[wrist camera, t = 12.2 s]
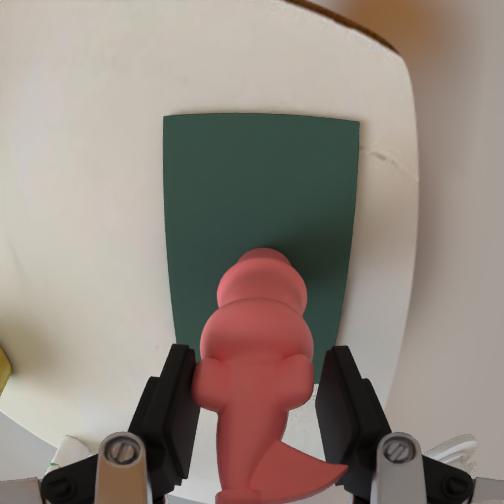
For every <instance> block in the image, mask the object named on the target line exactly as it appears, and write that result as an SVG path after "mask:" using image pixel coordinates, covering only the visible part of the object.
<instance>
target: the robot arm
mask: <svg viewBox="0 0 504 504" xmlns="http://www.w3.org/2000/svg"><path fill="white" fill-rule="evenodd" d="M195 366H196V358H195V350H194V349H190V348H189V345H186V344H172V346H171V349H170V352H169V354H168V357H167V359H166V362H165V365H164V367H163V370H162V372H161V375H160V377H152V376H151V377H150V378H149V380H148V381H147V384H146V386H145V389H144V391H143V394H142V396H141V399H140V401H139V404H138V406H137V409H136V411H135V414H134V416H133V419H132V421H131V424H130V426H129V429H128V432H116V433H113V434H110V435H109V436H107V437H106V438H105V439H104V440H103V441H102V442H101V445H100V448H99V453H98V454H96V455H93V456H91V457H88V458H86V459H83V460H81V461H78V462H75V463H72V464H70V465H67V466H64V467H61V468H58V469H55V470H52V471H51V472H49V473H47V474H46V475H45V476H44V478H43V479H38V478H37V477H34V478H27V479H17V480H7V481H0V504H168V494H167V493H169V492H171V491H173V490H174V486H175V485H178V486H181V483H182V479H187V478H188V474H189V468H190V463H191V457H192V451H193V446H194V440H195V435H196V429H197V424H198V418H199V413H200V406H198V405H197V404H196V403H195V402H194V401H193V399H192V396H191V382H192V377H193V372H194V368H195ZM315 408H316V414H317V418H318V423H319V428H320V433H321V438H322V443H323V449H324V454H325V459H326V462H327V463H331V464H342V465H348V466H349V468H348V471H347V472H346V473H345V474H344V475H343V476H342V477H341V478H340V479H339V480H338V481H337V482H336V483H335V485H336V486H339V485H344V489H345V490H346V491H348V492H349V501H348V504H504V480H495V479H487V478H480V477H476V478H475V479H472V478H471V476H470V475H469V474H471V473H473V472H475V467H476V466H477V463H476V462H475V461H474V462H472V463H470V464H469V465H468V464H467V463H466V459H467V454H466V452H465V451H459V452H455V453H453V454H450V455H448V456H446V457H444V458H442V459H440V460H438V461H437V460H435V459H432V458H430V457H427V456H425V455H422V454H421V448H420V445H419V443H418V441H417V440H416V439H415V438H414V437H412V436H411V435H409V434H406V433H403V432H394V433H392V431H391V429H390V426H389V424H388V421H387V419H386V417H385V414H384V412H383V409H382V407H381V405H380V402H379V400H378V398H377V395H376V393H375V391H374V388H373V386H372V384H371V382H370V380H369V379H367V378H365V379H362V378H361V375H360V373H359V370H358V368H357V366H356V363H355V361H354V359H353V356H352V354H351V352H350V349H349V347H348V346H332V347H331V350H327V351H326V353H325V358H324V363H323V368H322V373H321V378H320V382H319V387H318V391H317V396H316V400H315Z"/></svg>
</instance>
